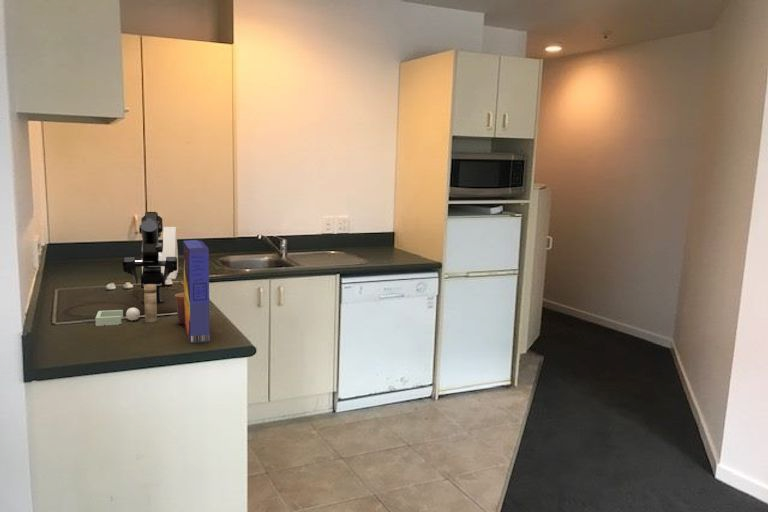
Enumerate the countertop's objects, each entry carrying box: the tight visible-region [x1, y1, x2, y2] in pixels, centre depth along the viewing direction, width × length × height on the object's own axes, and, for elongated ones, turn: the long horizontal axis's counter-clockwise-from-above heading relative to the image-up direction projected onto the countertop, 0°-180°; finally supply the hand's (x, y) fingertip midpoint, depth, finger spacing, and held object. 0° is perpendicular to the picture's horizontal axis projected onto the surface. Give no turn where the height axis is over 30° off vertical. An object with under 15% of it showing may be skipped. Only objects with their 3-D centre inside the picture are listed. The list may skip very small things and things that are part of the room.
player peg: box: [143, 284, 158, 323], centre depth 215 cm, size 4×4×13 cm
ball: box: [125, 307, 141, 322], centre depth 216 cm, size 5×5×5 cm
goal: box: [95, 309, 124, 327], centre depth 214 cm, size 11×8×3 cm
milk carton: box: [141, 226, 179, 280], centre depth 308 cm, size 19×15×25 cm
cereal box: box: [182, 239, 211, 344], centre depth 199 cm, size 22×6×30 cm, turn 22°
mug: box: [174, 292, 185, 326], centre depth 215 cm, size 12×9×10 cm
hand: (150, 282), depth 221 cm, fingers open, 9 cm apart
